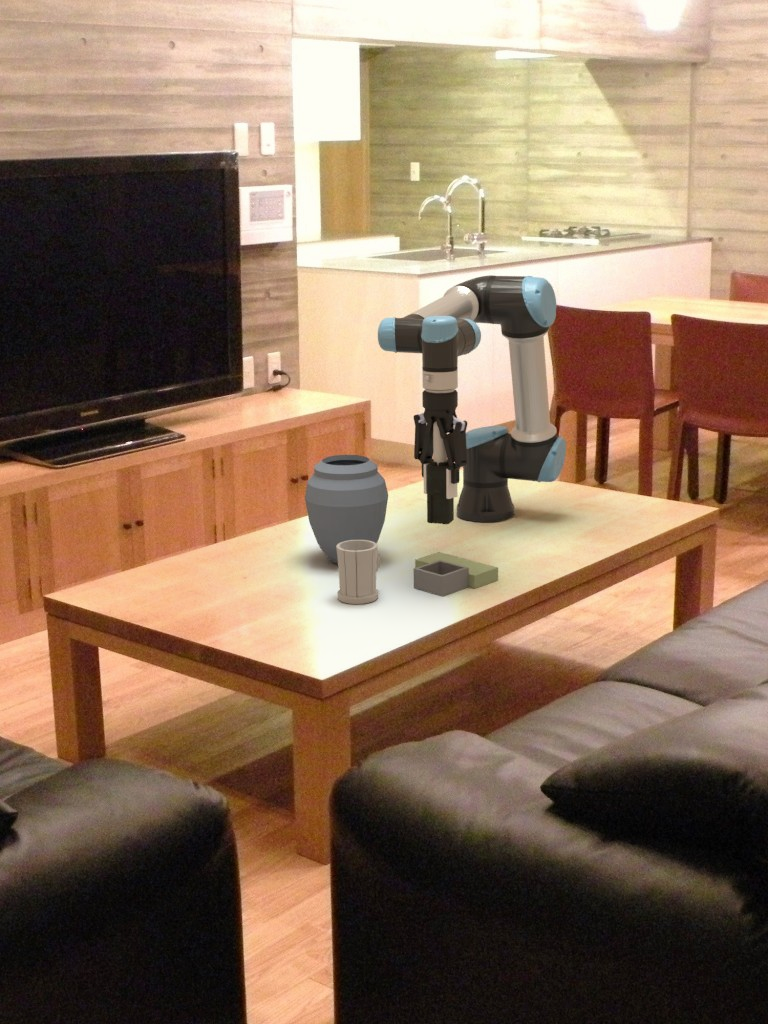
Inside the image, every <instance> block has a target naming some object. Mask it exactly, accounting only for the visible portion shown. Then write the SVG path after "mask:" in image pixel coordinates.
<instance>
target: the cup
mask: <svg viewBox="0 0 768 1024" xmlns="http://www.w3.org/2000/svg"><path fill="white" fill-rule="evenodd" d="M378 546H379V545H378V543H377V544H376V543H375V542H372V541H368V540H349V541H344V542H341V543H339V544H337V546H336V548H337V557H338V564H337V565H338V580H339V581H338V583H339V590H338V591H337V599H338V600H339V601H341V602H342V603H345V604H350V605H366V604H369V603H370V604H371V603H373V602H375V601H376V600H377V599H378V598H379V590H378V589H377V572H378V571H379V568H380V557H381V555H380V552H379V550H378Z"/></svg>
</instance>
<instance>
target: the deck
mask: <svg viewBox="0 0 768 1024" xmlns="http://www.w3.org/2000/svg"><path fill="white" fill-rule="evenodd" d="M498 581H499V567H498V566H494V565H490V564H486V563H482V562H479V561H475V560H471V559H466V558H463V557H461V556H460V557H459V556H456V555H451V554H448V553H444V552H440V551H438V552H434V553H431V554H428V555H425V556H422V557H419V558H415V560H414V568H413V589H416V590H419V591H423V592H426V593H430V594H433V595H436V596H440V597H444V596H448V595H450V594H453V593H454V594H455V593H456V592H459V591H462V590H465V589H467V588H471V589H477V588H480V587H483V586H485V585H488V584H491V582H492V583H494V582H498Z"/></svg>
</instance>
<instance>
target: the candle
mask: <svg viewBox="0 0 768 1024" xmlns="http://www.w3.org/2000/svg"><path fill="white" fill-rule="evenodd" d="M446 434H448V433H446ZM448 467H449V463H448V459H447V455H446V450H445V446H444V442H443V439H442V438H441V436H440V432H439V428H438V426H437V422H434V424H433V456H432V460H430V463H429V464H428V465H427V494H426V518H427V519H426V522H427V523H428V524H438V525H439V524H442V525H449V524H451V523H452V522H453V521H454V517H455V515H454V513H455V512H454V507H455V506H454V505H455V504H454V502H455V501H454V499H455V498H451V499H447V498H446V469H447V468H448Z"/></svg>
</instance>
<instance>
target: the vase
mask: <svg viewBox="0 0 768 1024" xmlns="http://www.w3.org/2000/svg"><path fill="white" fill-rule="evenodd" d="M378 467H379V466H378V464H377V463H376V462H374V460H372V459H370V458H369V457H367V456H364V455H358V454H337V455H330V456H327V457H324V458H322V459H321V460H320V461H319V462H317V463H316V464H315V465H314V466H313V472H314V473H312V475H311V476H310V478H309V479H308V480H307V482H306V488H305V494H304V501H305V506H306V511H307V516H308V522H309V525H310V527H311V531H312V532H313V534H314V538H315V541H316V543H317V544H318V546H319V547H320V549H321V551H322V552H323V554H324V556H326V558H327V559H328V560H329V561H330V562H332V563H334V564H336V565H338V557H337V548H336V546H337V544H339V543H341V542H344V541H349V540H368V541H372V542H375V543H376V544H377V545H378V542H379V538H380V537H381V533H382V530H383V526H384V525H385V521H386V514H387V508H388V501H389V500H388V499H389V493H388V492H389V491H388V488H387V484H386V480H385V478H384V476H382V475H381V473H380V472H379V471H378V470H379V469H378Z"/></svg>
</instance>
